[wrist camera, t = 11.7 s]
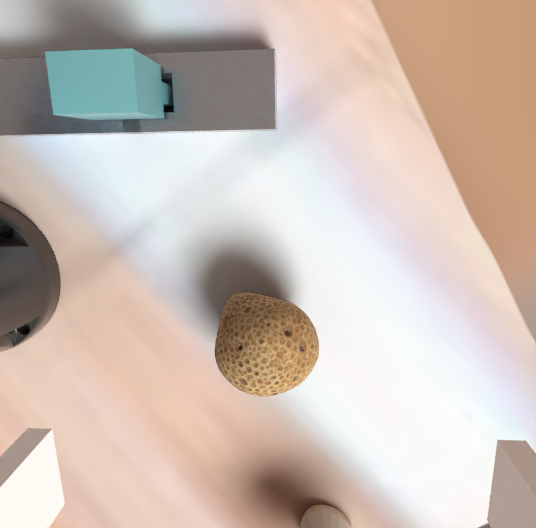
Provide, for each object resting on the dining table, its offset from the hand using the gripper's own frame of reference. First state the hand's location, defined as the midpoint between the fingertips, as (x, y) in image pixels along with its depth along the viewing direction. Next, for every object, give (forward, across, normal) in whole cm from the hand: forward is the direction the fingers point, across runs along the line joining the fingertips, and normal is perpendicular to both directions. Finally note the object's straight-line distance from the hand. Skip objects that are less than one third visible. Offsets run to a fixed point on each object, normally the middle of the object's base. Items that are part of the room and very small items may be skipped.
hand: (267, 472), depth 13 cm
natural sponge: (+29, -2, -7) cm, 30 cm away
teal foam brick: (+29, -13, +14) cm, 34 cm away
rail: (+29, -13, +14) cm, 34 cm away
